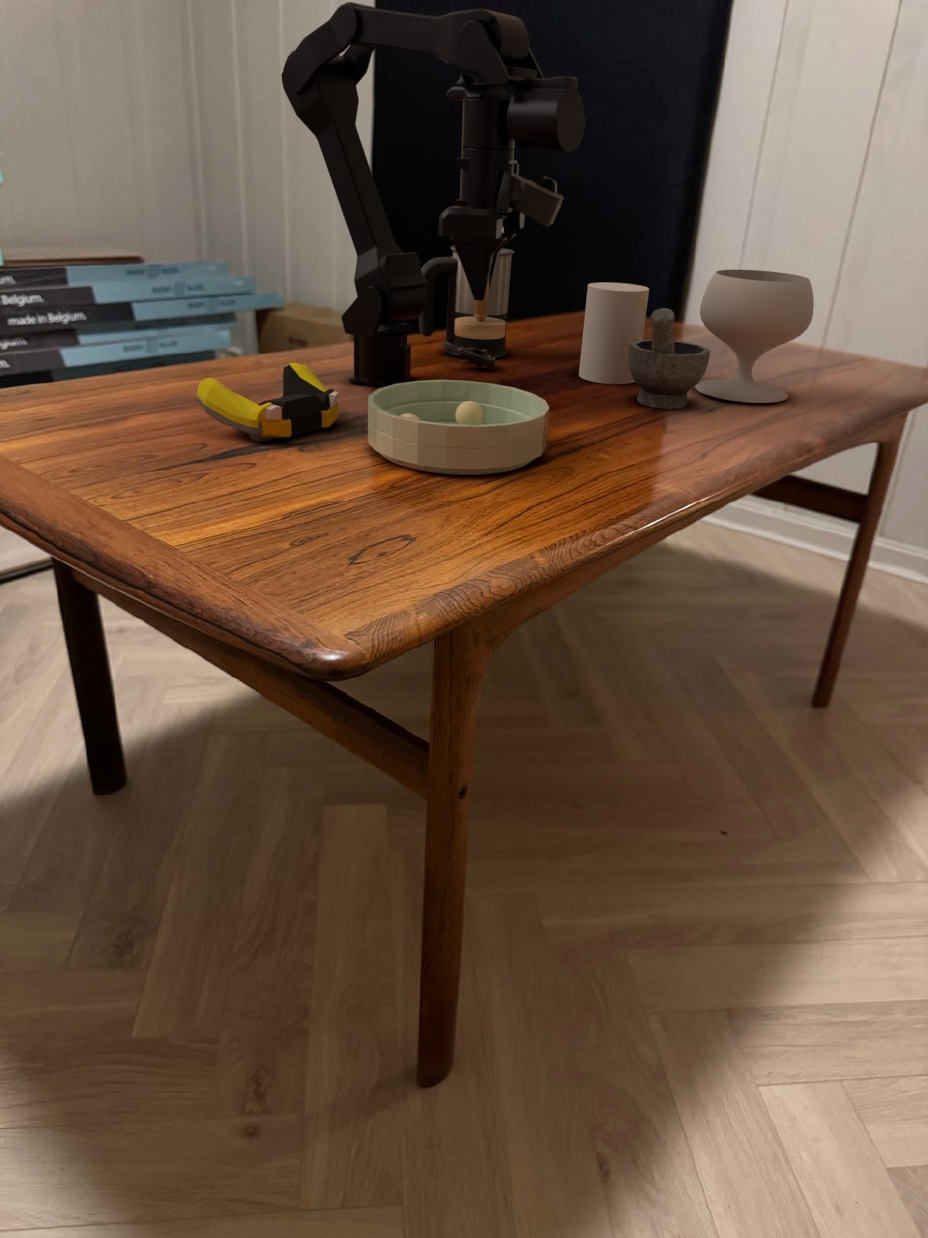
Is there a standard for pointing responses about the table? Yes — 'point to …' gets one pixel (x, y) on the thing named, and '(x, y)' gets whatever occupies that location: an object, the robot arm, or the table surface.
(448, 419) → the bowl
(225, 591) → the table surface
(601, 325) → the tall cream tube
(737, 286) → the chalice
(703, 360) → the mortar and pestle
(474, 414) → the dumpling
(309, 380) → the gaming controller
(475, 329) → the stirrer
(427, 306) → the milk frother
